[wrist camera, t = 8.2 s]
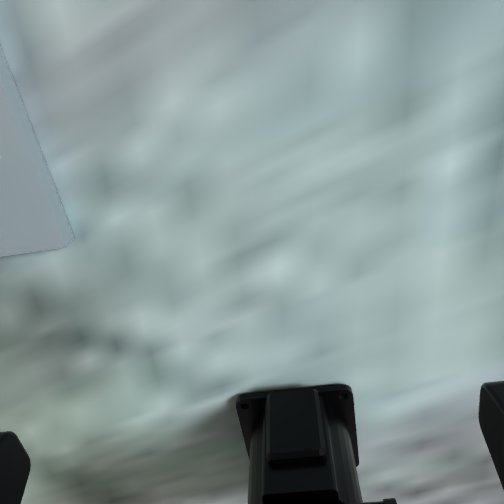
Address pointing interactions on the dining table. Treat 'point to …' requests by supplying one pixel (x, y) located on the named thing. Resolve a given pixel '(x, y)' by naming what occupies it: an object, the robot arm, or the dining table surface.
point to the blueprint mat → (25, 182)
